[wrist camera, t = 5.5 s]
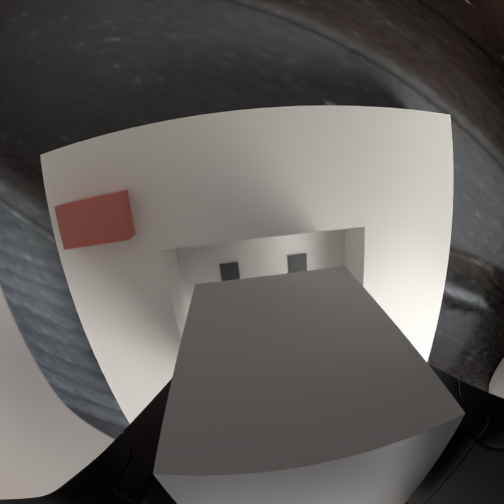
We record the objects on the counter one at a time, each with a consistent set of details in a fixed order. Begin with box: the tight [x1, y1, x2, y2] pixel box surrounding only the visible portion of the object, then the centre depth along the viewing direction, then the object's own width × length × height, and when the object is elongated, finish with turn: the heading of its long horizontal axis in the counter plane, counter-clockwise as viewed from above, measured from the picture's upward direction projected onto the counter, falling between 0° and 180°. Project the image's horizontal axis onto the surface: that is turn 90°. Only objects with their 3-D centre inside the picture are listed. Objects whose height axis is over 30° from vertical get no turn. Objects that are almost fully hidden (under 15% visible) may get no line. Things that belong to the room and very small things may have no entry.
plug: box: [153, 266, 465, 504], centre depth 7 cm, size 4×7×6 cm, turn 6°
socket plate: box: [40, 106, 453, 423], centre depth 11 cm, size 14×14×3 cm
